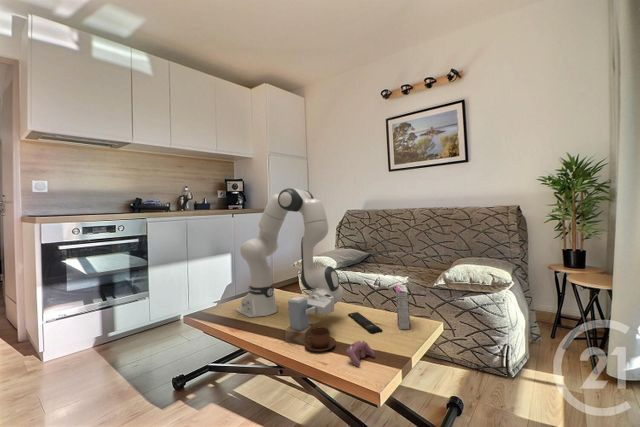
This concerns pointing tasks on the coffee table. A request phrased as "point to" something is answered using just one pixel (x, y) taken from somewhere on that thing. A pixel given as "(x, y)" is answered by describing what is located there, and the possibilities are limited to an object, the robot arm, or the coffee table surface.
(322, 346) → the cup and saucer
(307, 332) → the walnut block
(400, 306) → the candy bar box
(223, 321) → the coffee table surface
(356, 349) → the video game controller
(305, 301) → the tall gray box
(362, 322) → the remote control
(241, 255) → the robot arm
